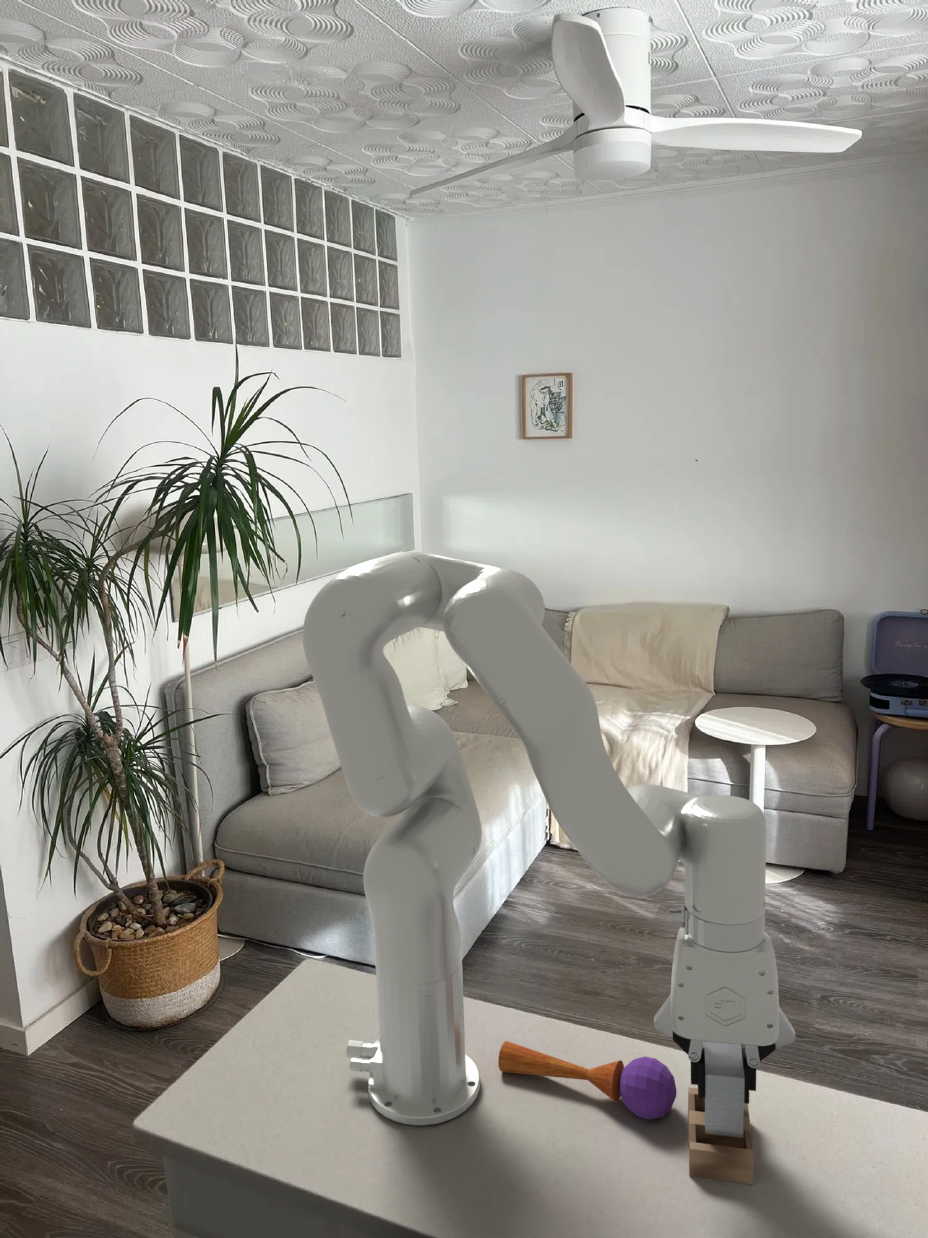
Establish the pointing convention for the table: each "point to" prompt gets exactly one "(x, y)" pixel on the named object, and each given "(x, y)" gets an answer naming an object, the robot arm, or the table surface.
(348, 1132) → the table surface
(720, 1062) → the steel brick
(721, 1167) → the wooden frame
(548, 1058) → the kendama
